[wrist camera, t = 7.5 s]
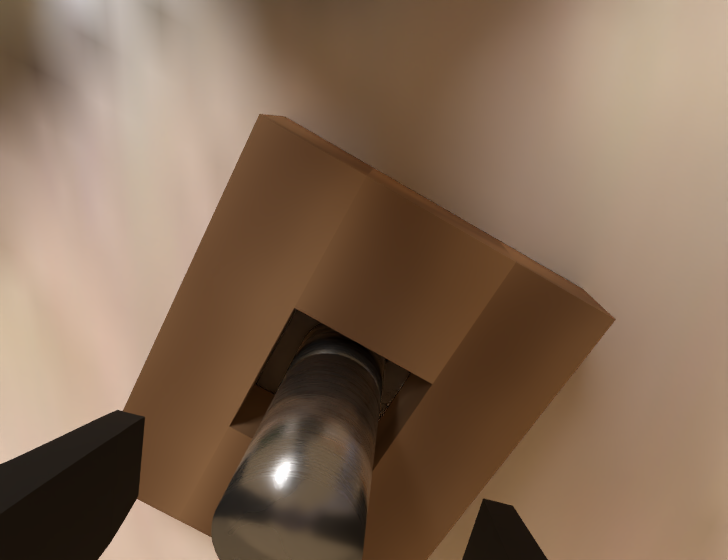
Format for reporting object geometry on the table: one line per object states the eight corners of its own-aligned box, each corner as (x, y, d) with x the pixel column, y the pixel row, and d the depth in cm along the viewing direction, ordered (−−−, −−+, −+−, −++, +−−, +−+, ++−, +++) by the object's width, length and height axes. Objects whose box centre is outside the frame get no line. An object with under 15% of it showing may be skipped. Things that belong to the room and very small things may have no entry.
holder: (583, 289, 15) (615, 319, 12) (381, 558, 18) (377, 622, 16) (285, 116, 14) (259, 114, 12) (135, 429, 18) (92, 476, 15)
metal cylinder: (370, 409, 17) (339, 619, 10) (289, 384, 17) (198, 575, 10) (396, 334, 16) (383, 504, 9) (311, 308, 16) (227, 455, 9)
